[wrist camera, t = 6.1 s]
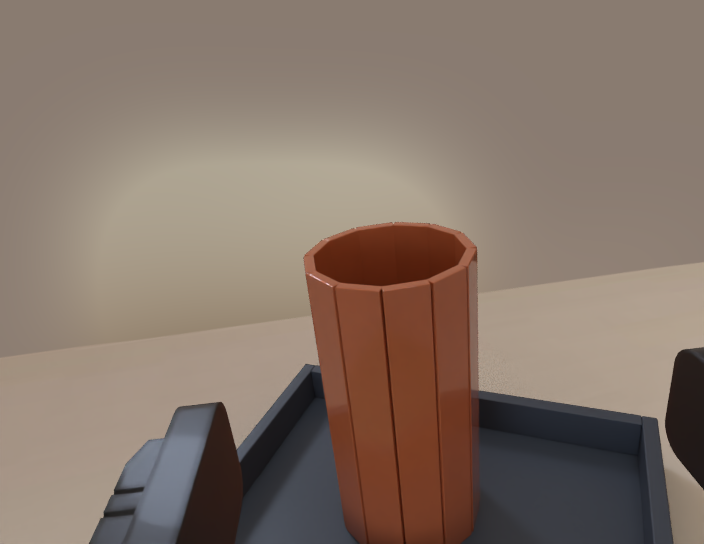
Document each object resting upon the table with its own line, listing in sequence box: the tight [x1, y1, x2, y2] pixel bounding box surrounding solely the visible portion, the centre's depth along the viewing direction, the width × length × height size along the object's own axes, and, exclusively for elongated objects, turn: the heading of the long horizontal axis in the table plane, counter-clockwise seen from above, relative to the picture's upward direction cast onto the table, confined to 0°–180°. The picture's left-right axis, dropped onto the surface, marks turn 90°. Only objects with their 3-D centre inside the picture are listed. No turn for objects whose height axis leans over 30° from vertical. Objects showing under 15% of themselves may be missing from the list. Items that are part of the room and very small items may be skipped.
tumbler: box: [304, 222, 480, 544], centre depth 23 cm, size 6×6×13 cm
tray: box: [235, 364, 674, 544], centre depth 25 cm, size 19×14×3 cm
